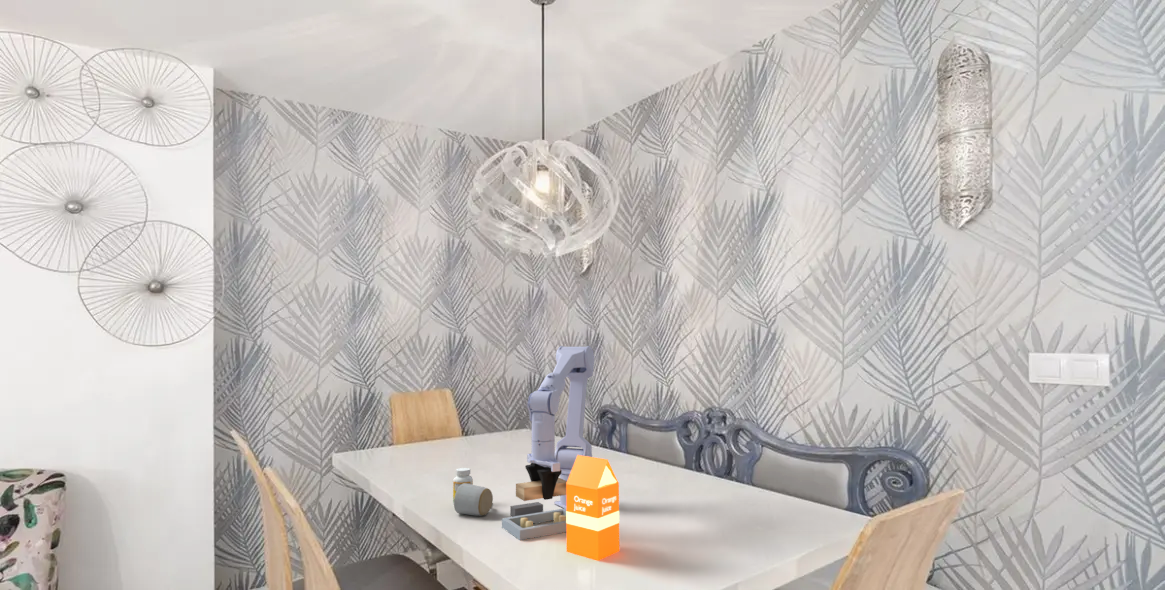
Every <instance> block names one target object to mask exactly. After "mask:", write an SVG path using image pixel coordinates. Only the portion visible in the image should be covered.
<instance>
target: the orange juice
mask: <svg viewBox="0 0 1165 590" xmlns="http://www.w3.org/2000/svg"><path fill="white" fill-rule="evenodd" d="M566 528H567V532H566V553H568V554H569V553H570V554H572V555H573V554H574V555H576V556H579V557H584V558H586V559H590V560H593V561H597V562H599V561H601V560H604V559H605V558H608V557H609V556H613V555H614V554H616V553H618V552H620V483H619V481H618V479H617V477H616V475H615V473H614V471H613V468H612V467H611V463H610V462H609V459H606V458H601V457H595V456H592V457H588V456H581V455H577V457H576V460H575V463H574V465H573V468H572V470H571V473H570V475H569V478H568V480H567V483H566Z"/></svg>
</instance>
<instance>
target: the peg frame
mask: <svg viewBox="0 0 1165 590" xmlns="http://www.w3.org/2000/svg"><path fill="white" fill-rule="evenodd" d="M550 520H554V521H553V522H552V523H551V521H550ZM545 521H548V522H550V523H546V522H545ZM539 522H542V523H545V524H540V523H539ZM533 523H536V524H539V525H534V524H533ZM501 528H502V529H503V528H504V529H505V531H506V530H507V531H508V533H509V534H510V533H511V534H510V535H512V536H513V535H514V536H515V538H516V539H517V538H518V541H523V540H522V539H525V540H528V539H527V538H530V539H533V538H534V537H535V538H540V536H541V537H544V536H546V537H547V536H549V535H550V536H552V535H557V534H562V532H563V533H567V528H566V509H565V508H559V509H558V508H557V509H551V510H546V511H543V512H539V513H533V514H526V515H520V516H514V517H511V516H508V517H504V518H501ZM504 529H503V530H504ZM507 531H506V532H507ZM514 536H513V537H514Z"/></svg>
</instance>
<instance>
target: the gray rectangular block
mask: <svg viewBox="0 0 1165 590" xmlns="http://www.w3.org/2000/svg"><path fill="white" fill-rule="evenodd" d="M509 512H510V513H509V514H510V515H511V516H512V517H514V516H520V515H526V514H533V513H539V512H544V504H543V503H541V502H539V501H535V502H529V503H523V504H516V505H510V511H509ZM511 516H510V517H511Z"/></svg>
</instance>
